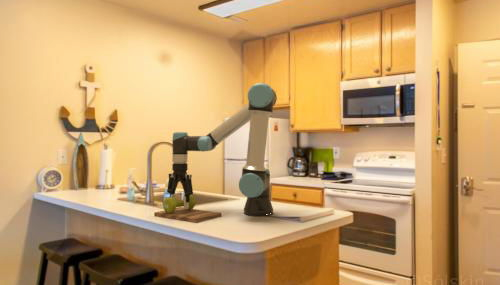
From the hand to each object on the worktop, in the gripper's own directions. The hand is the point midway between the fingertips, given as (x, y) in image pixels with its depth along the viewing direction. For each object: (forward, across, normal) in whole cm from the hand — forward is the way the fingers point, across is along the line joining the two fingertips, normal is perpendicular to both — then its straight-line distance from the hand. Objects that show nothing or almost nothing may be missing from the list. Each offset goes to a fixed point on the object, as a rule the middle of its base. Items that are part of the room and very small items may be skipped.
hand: (179, 207), depth 185 cm
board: (+4, -5, 0) cm, 6 cm away
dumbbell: (+2, 0, 0) cm, 2 cm away
